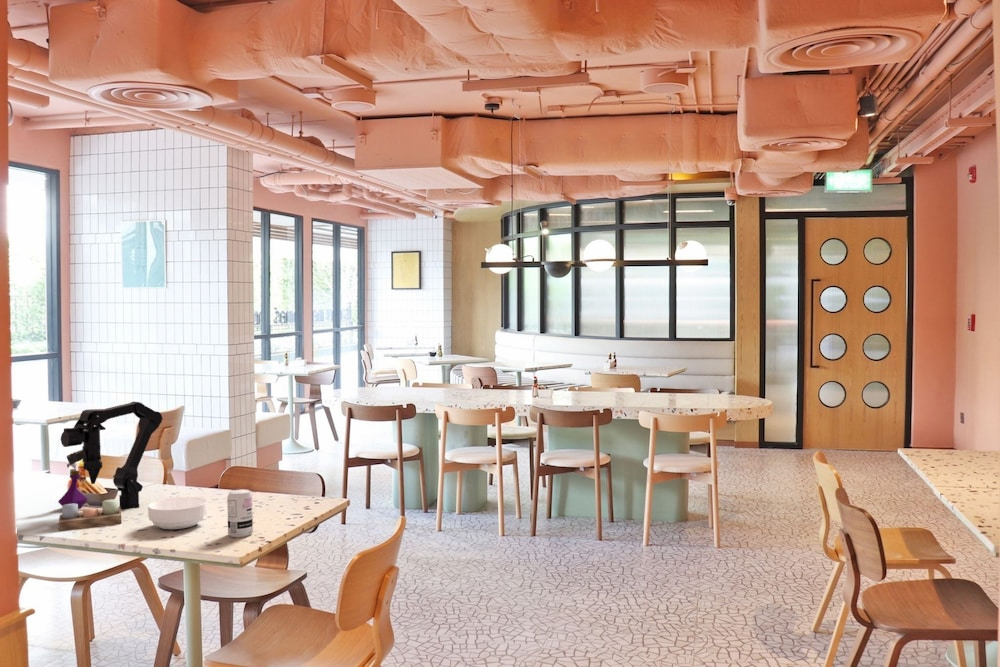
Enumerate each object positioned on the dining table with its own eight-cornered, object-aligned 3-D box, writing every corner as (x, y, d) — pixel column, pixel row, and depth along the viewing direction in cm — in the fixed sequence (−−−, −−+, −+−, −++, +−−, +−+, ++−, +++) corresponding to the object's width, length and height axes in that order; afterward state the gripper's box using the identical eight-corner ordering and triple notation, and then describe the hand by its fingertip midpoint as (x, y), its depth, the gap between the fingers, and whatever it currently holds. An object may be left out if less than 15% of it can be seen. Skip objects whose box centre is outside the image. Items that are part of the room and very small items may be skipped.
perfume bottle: (88, 506, 319) (87, 461, 318) (72, 511, 312) (71, 465, 311) (73, 505, 321) (72, 460, 321) (57, 509, 314) (56, 464, 314)
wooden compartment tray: (120, 516, 304) (120, 508, 304) (121, 523, 294) (121, 515, 293) (60, 522, 295) (59, 514, 295) (59, 530, 284) (58, 522, 284)
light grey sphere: (78, 515, 295) (77, 502, 295) (78, 518, 290) (77, 505, 290) (62, 517, 292) (62, 504, 292) (62, 520, 288) (62, 507, 288)
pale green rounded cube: (117, 511, 301) (117, 498, 300) (117, 514, 296) (117, 501, 296) (102, 513, 298) (102, 500, 298) (102, 516, 294) (102, 503, 294)
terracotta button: (98, 520, 298) (97, 507, 298) (98, 523, 293) (98, 510, 293) (83, 522, 295) (82, 509, 295) (82, 525, 291) (82, 512, 291)
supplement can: (231, 531, 282) (230, 489, 281) (255, 531, 282) (254, 488, 282) (225, 538, 274) (224, 494, 273) (250, 537, 274) (249, 493, 274)
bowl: (142, 525, 291) (142, 501, 291) (198, 516, 303) (198, 494, 303) (156, 537, 276) (155, 512, 275) (214, 527, 287) (214, 504, 287)
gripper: (67, 441, 310) (68, 481, 310) (67, 448, 293) (68, 491, 294) (100, 438, 315) (101, 478, 315) (101, 445, 298) (102, 487, 299)
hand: (93, 483), depth 306 cm, fingers closed
